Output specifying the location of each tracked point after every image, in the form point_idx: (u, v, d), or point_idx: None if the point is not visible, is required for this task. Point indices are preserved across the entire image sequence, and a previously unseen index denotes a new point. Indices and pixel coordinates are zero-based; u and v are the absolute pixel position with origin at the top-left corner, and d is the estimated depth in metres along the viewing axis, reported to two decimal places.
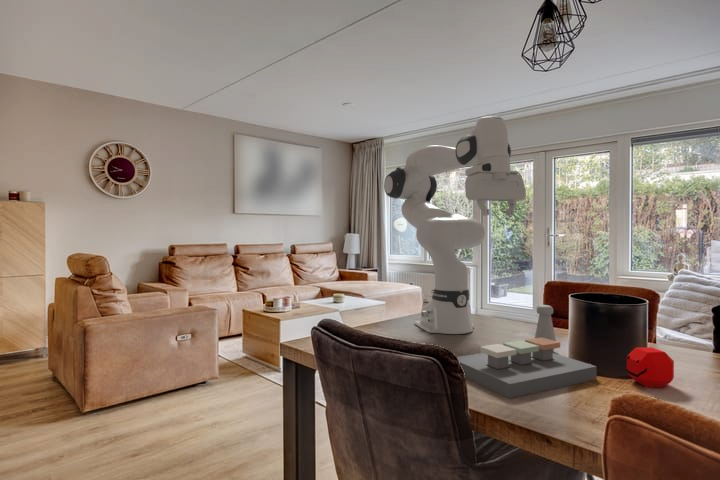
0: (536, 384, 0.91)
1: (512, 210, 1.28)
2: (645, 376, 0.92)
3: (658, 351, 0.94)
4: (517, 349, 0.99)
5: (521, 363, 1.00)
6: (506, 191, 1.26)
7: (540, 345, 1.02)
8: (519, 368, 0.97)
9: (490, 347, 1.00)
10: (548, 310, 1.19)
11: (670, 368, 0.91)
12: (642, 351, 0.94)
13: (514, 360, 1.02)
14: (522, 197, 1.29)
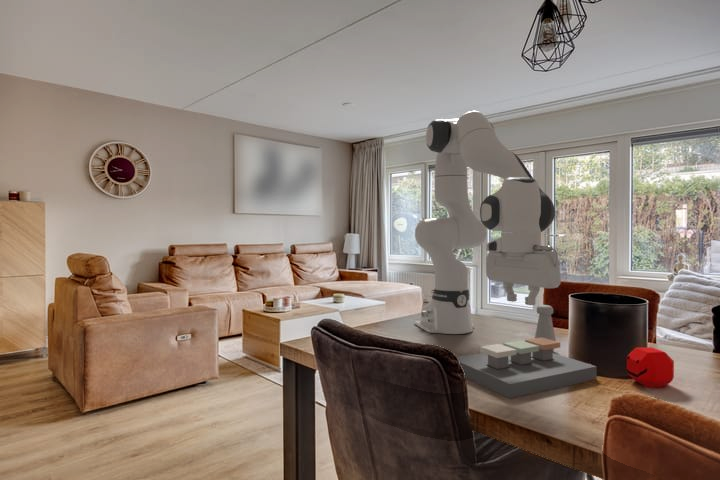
0: (536, 384, 0.91)
1: (527, 299, 0.99)
2: (645, 376, 0.92)
3: (658, 351, 0.94)
4: (517, 349, 0.99)
5: (521, 363, 1.00)
6: (521, 275, 0.99)
7: (540, 345, 1.02)
8: (519, 368, 0.97)
9: (490, 347, 1.00)
10: (548, 310, 1.19)
11: (670, 368, 0.91)
12: (642, 351, 0.94)
13: (514, 360, 1.02)
14: (543, 285, 0.93)
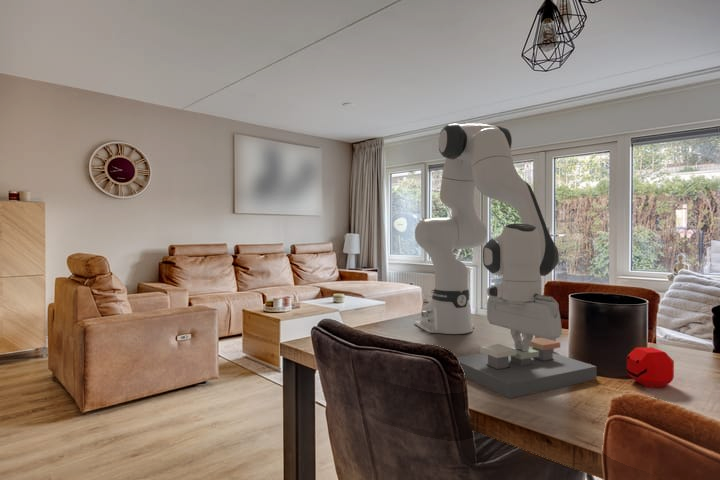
0: (536, 384, 0.91)
1: (521, 345, 1.01)
2: (645, 376, 0.92)
3: (658, 351, 0.94)
4: (517, 354, 0.99)
5: None
6: (522, 323, 0.99)
7: (540, 345, 1.02)
8: (519, 368, 0.97)
9: (490, 347, 1.00)
10: None
11: (670, 368, 0.91)
12: (642, 351, 0.94)
13: None
14: (544, 335, 0.93)
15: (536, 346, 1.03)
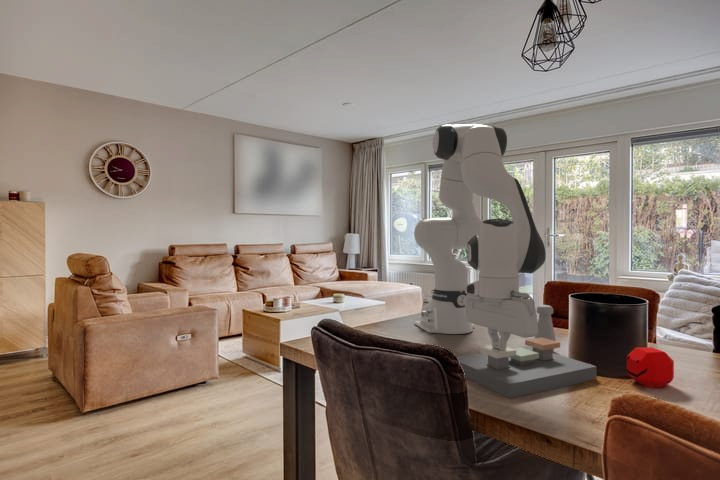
0: (536, 384, 0.91)
1: (498, 343, 0.98)
2: (645, 376, 0.92)
3: (658, 351, 0.94)
4: (517, 356, 0.99)
5: None
6: (499, 321, 0.96)
7: (540, 345, 1.02)
8: (519, 368, 0.97)
9: (490, 347, 1.00)
10: (548, 310, 1.19)
11: (670, 368, 0.91)
12: (642, 351, 0.94)
13: None
14: (520, 334, 0.90)
15: (536, 346, 1.03)
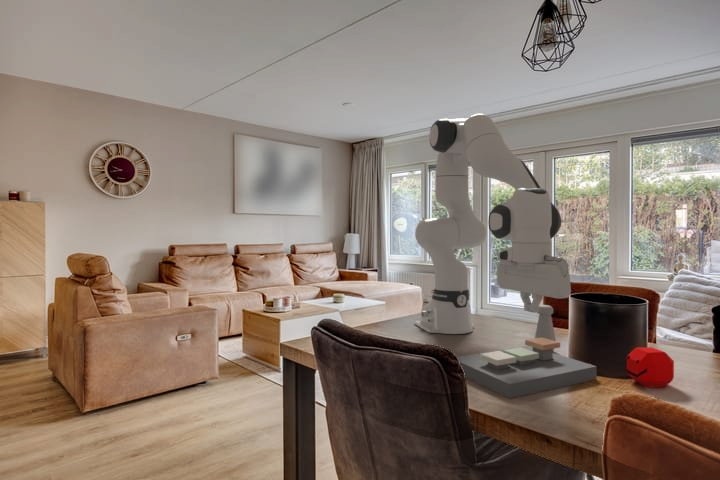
0: (536, 384, 0.91)
1: (531, 306, 1.02)
2: (645, 376, 0.92)
3: (658, 351, 0.94)
4: (517, 356, 0.99)
5: None
6: (532, 284, 1.01)
7: (540, 345, 1.02)
8: (519, 368, 0.97)
9: (490, 354, 1.00)
10: (548, 310, 1.19)
11: (670, 368, 0.91)
12: (642, 351, 0.94)
13: None
14: (553, 295, 0.95)
15: (536, 346, 1.03)
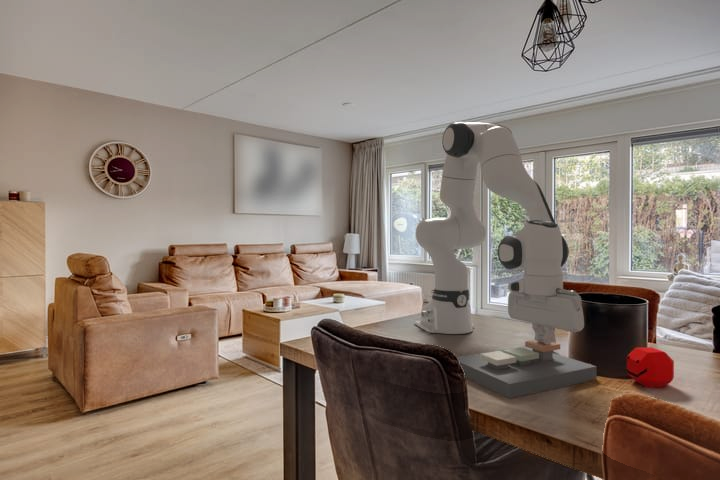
0: (536, 384, 0.91)
1: (543, 338, 1.03)
2: (645, 376, 0.92)
3: (658, 351, 0.94)
4: (517, 356, 0.99)
5: None
6: (544, 317, 1.02)
7: (540, 347, 1.02)
8: (519, 368, 0.97)
9: (490, 354, 1.00)
10: None
11: (670, 368, 0.91)
12: (642, 351, 0.94)
13: None
14: (567, 328, 0.96)
15: (536, 348, 1.03)
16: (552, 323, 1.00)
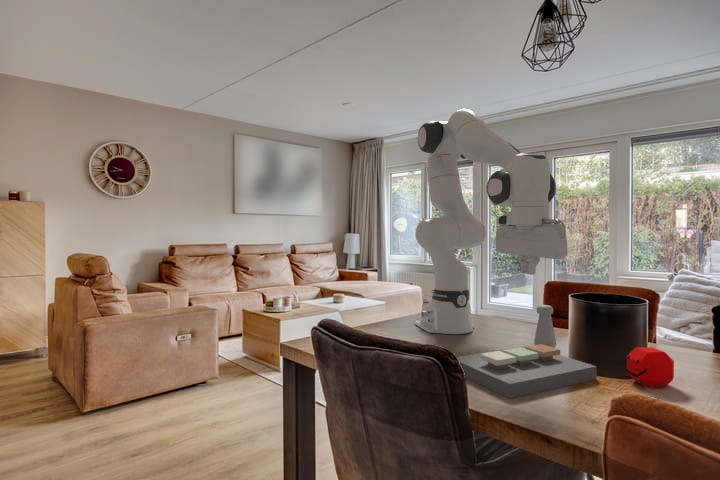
0: (536, 384, 0.91)
1: (528, 268, 1.06)
2: (645, 376, 0.92)
3: (658, 351, 0.94)
4: (517, 356, 0.99)
5: None
6: (529, 247, 1.04)
7: (540, 352, 1.02)
8: (519, 368, 0.97)
9: (490, 354, 1.00)
10: (548, 310, 1.19)
11: (670, 368, 0.91)
12: (642, 351, 0.94)
13: None
14: (550, 256, 0.99)
15: None
16: (537, 252, 1.02)
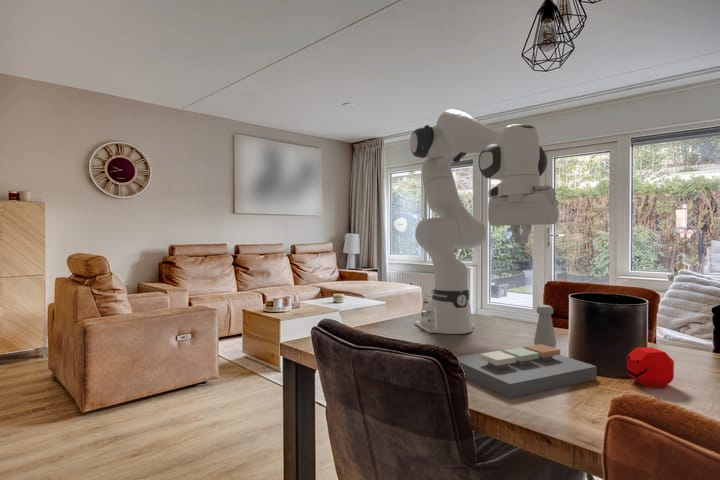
0: (536, 384, 0.91)
1: (520, 237, 1.07)
2: (645, 376, 0.92)
3: (658, 351, 0.94)
4: (517, 356, 0.99)
5: None
6: (521, 215, 1.05)
7: (540, 352, 1.02)
8: (519, 368, 0.97)
9: (490, 354, 1.00)
10: (548, 310, 1.19)
11: (670, 368, 0.91)
12: (642, 351, 0.94)
13: None
14: (541, 221, 1.00)
15: None
16: (528, 220, 1.03)
